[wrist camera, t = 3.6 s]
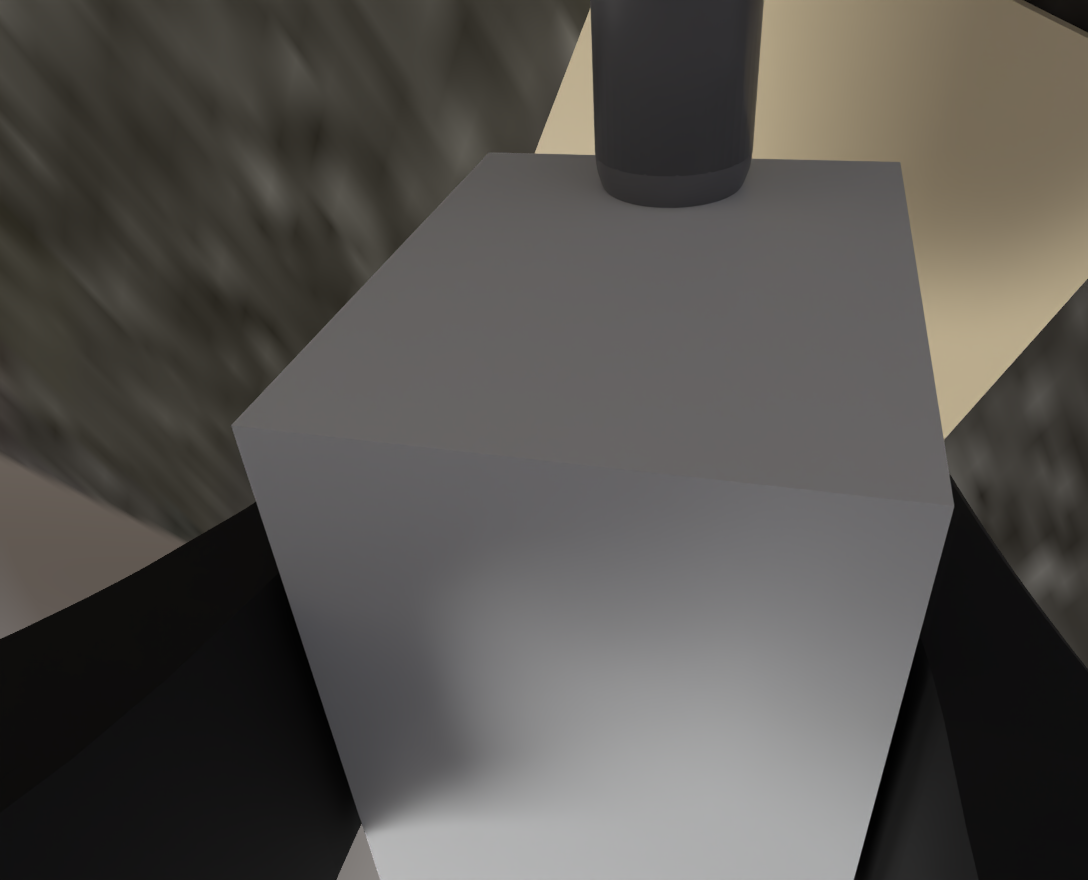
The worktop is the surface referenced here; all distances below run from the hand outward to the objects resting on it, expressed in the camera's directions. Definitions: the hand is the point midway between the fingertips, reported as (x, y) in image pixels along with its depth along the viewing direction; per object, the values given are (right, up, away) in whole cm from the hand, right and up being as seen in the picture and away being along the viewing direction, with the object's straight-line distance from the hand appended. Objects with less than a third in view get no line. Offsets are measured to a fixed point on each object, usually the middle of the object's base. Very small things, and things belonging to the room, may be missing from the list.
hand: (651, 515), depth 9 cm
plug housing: (0, +3, 0) cm, 3 cm away
